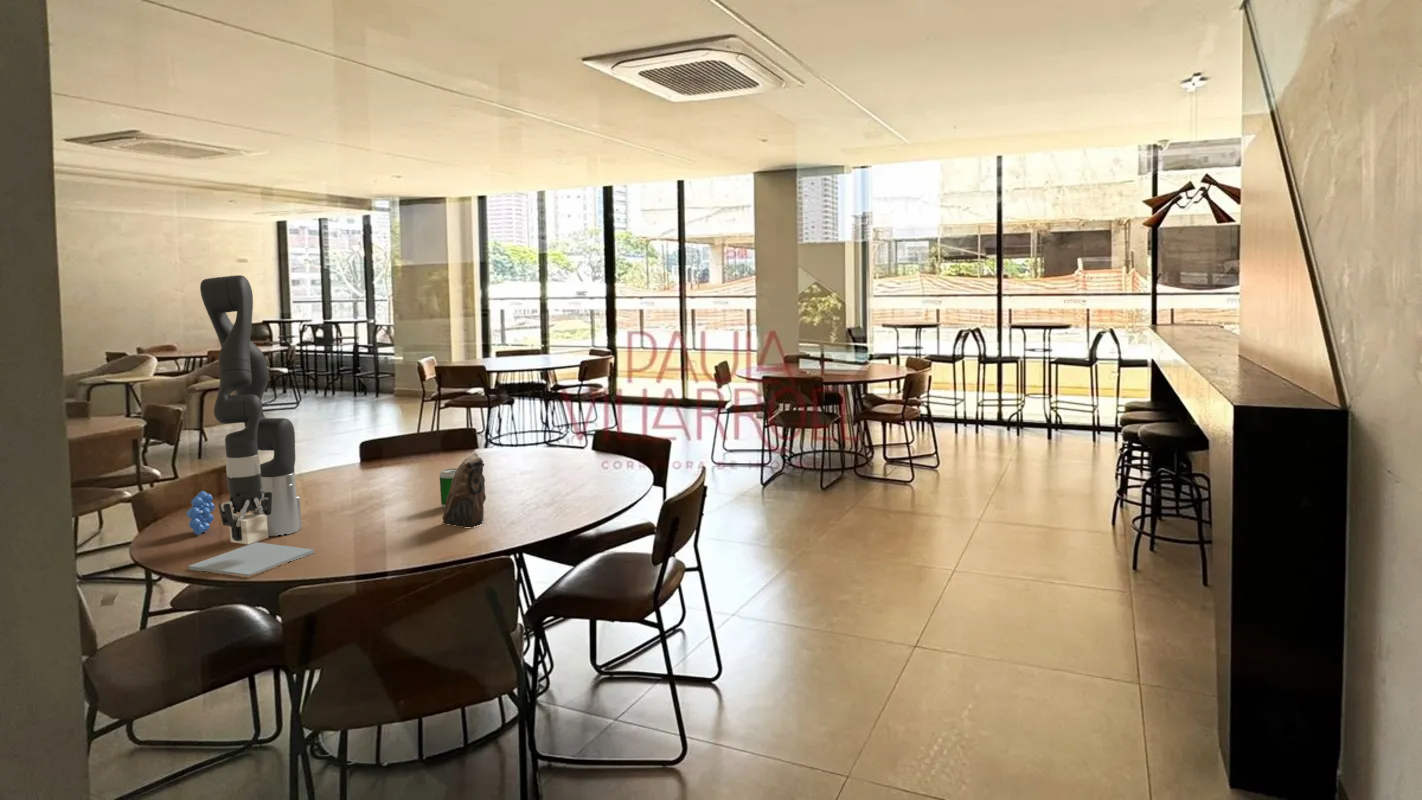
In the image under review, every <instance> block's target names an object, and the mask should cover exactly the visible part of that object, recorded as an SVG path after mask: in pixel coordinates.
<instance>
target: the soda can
mask: <svg viewBox="0 0 1422 800" xmlns="http://www.w3.org/2000/svg"><path fill="white" fill-rule="evenodd" d="M457 469H458V467H457V468H454V467H453V468H446V469H445V468H444V469H443V470H442V471H441V472H440V473H439V488H440V489H439V490H440V505H441V506H442V507H443V508H444V509H445V506H446V499H447V497H448V494H449V491H450V487H451V483H452V479H453V477H454V475H455V472H456V471H457Z"/></svg>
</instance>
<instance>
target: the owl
mask: <svg viewBox="0 0 1422 800" xmlns="http://www.w3.org/2000/svg"><path fill="white" fill-rule="evenodd" d="M484 466H485V463H484V461H483V459H482V457H479V455H478V453H476V452H475V453H473V454H470V455H469V456H468V457H466V458H465V459H464V460H463V461H462V462H461V464H460V465H459V466H458V467H457V471H456V472H455V475H454V477H453V479H452V483H451V487H450V491H449V494H448V497H447V499H446V506H445V508H444V513H443V515H442V524H443V523H445V524H444V525H446V524H450V525H449V526H451V525H456V526H455V527H457V526H463V527H462V528H464V527H474V526H477V525H480V524H482V523H483V522H482V521H484V520H483V518H484V513H485V510H484V509H485V508H484V504H485V502H486V499H487V495H486V488H485V487H486V486H485V482H486V479H485V476H484V474H483V472H484ZM484 519H485V518H484Z"/></svg>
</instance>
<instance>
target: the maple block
mask: <svg viewBox="0 0 1422 800" xmlns="http://www.w3.org/2000/svg"><path fill="white" fill-rule="evenodd" d="M236 519H237V518H236ZM235 522H236V520H235ZM240 526H241V532H242V540H241V541H235V540H234V539H233V538H232V531H231V526H228V529H229V538H230V543H237V544H242V545H250V544H253V543H256V542H260V541H262V540H267V539H268V538H269V536H268V528H267V516H266V515H259V514H253V513H252V512H247V513H245V516H244V518H242V520H241V524H240Z"/></svg>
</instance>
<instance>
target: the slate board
mask: <svg viewBox="0 0 1422 800" xmlns="http://www.w3.org/2000/svg"><path fill="white" fill-rule="evenodd" d="M312 553H313V554H314V553H315V552H314V549H313V548H312V549H311V548H305V547H304V548H303V547H299V546H298V547H296V546H290V545H289V546H288V545H282V544H281V545H280V544H275V543H274V544H273V543H266V542H260V541H257V542H254V543H251V544H246V545H245V546H241V547H239V548H236V549H233V550H230V551H227V552H224V553H221V554H219V555H216V556H213V557H210V558H207V559H204V560H202V561H199V562H196V563H193V564H190V565H188V570H190V571H195V570H196V572H202V571H210V572H218V573H226V574H236V575H245V576H250V575H252V574H256V573H260V572H263V571H265V570H267V569H270V568H272V567H275V566H277V565H280V564H283V563H285V562H288V561H292V562H294V561H293V560H295V561H297V560H300V559H302V557H303V558H304V557H308V556H310V555H313V554H312ZM309 554H310V555H309ZM307 555H308V556H307ZM299 558H300V559H299ZM296 559H297V560H296Z"/></svg>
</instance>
